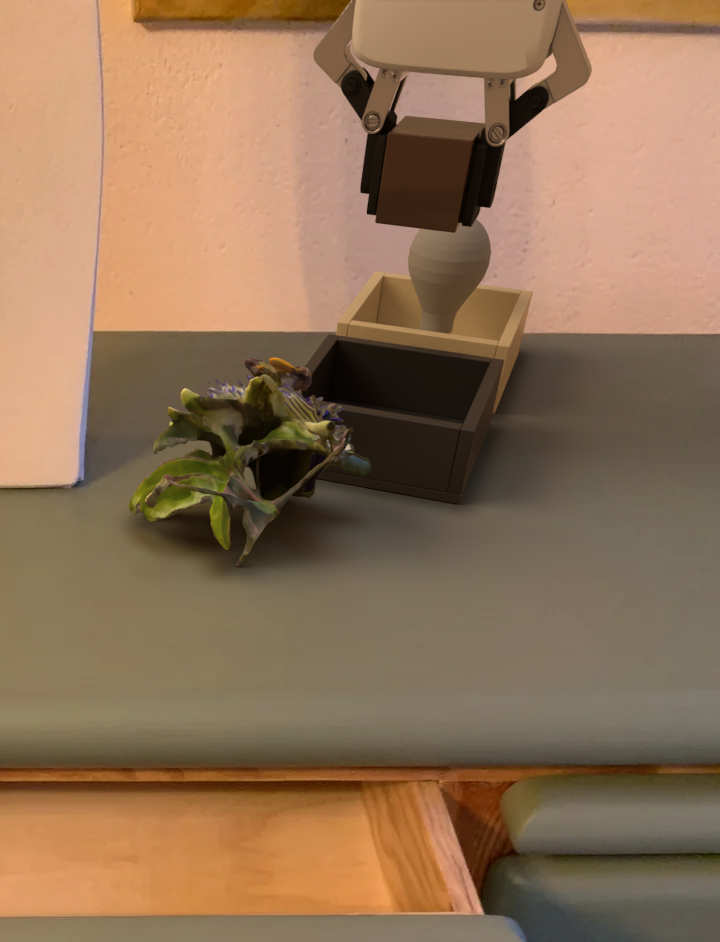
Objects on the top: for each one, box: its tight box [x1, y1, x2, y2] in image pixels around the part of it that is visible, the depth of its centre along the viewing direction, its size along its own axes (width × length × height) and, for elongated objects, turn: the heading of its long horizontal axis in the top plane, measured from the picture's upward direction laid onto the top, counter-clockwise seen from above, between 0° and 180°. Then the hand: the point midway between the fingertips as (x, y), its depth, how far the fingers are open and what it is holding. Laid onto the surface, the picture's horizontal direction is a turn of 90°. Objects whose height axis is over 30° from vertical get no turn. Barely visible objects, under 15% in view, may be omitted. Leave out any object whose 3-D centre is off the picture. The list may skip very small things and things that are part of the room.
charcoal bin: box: [301, 333, 504, 505], centre depth 73 cm, size 12×12×5 cm
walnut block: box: [374, 115, 485, 233], centre depth 64 cm, size 4×4×4 cm
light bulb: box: [407, 218, 492, 334], centre depth 80 cm, size 6×6×10 cm
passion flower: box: [128, 357, 371, 567], centre depth 64 cm, size 11×11×12 cm
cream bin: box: [335, 270, 533, 415], centre depth 83 cm, size 12×12×5 cm
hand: (423, 210), depth 65 cm, fingers closed on walnut block, 4 cm apart
